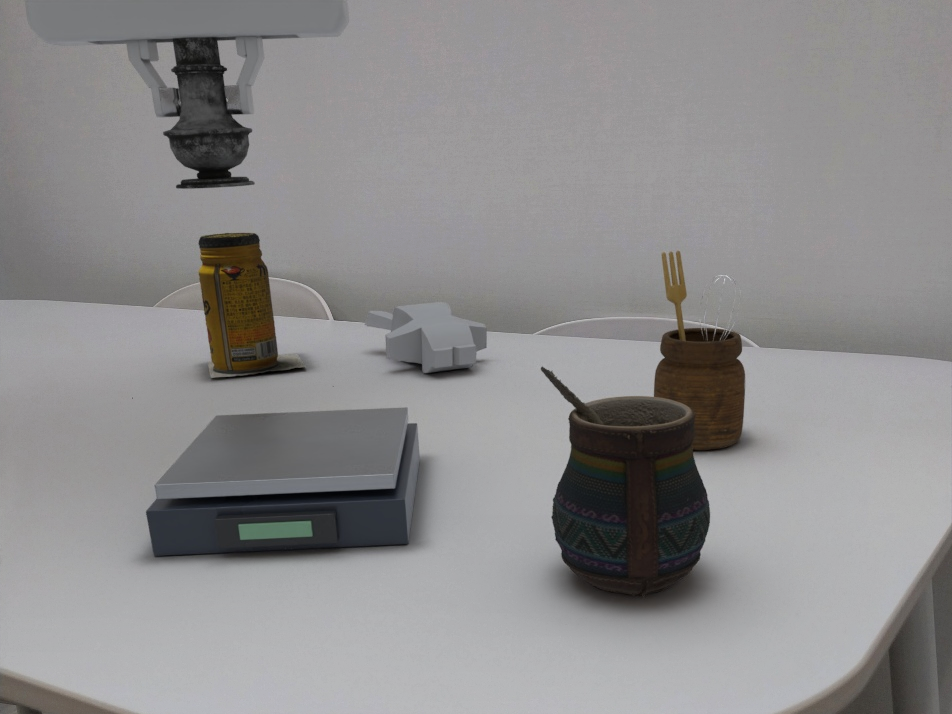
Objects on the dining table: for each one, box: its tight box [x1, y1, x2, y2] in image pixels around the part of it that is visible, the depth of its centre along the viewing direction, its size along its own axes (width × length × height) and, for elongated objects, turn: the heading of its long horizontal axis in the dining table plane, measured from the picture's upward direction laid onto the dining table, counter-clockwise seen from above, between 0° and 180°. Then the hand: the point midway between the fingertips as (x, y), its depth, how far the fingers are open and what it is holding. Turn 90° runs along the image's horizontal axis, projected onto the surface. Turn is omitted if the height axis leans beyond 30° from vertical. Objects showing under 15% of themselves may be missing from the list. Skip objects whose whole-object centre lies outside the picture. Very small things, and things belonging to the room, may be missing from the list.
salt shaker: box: [162, 37, 256, 190], centre depth 65 cm, size 6×6×12 cm
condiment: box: [198, 232, 307, 379], centre depth 88 cm, size 7×8×12 cm
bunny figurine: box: [364, 301, 488, 374], centre depth 90 cm, size 10×5×15 cm
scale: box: [145, 422, 421, 557], centre depth 55 cm, size 13×15×2 cm
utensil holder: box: [653, 250, 746, 451], centre depth 63 cm, size 6×6×12 cm
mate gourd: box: [540, 366, 712, 598], centre depth 44 cm, size 7×8×10 cm
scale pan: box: [154, 407, 410, 500], centre depth 55 cm, size 12×13×1 cm
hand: (206, 115), depth 65 cm, fingers closed on salt shaker, 3 cm apart
